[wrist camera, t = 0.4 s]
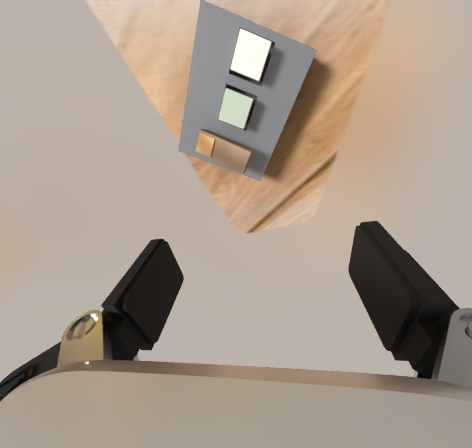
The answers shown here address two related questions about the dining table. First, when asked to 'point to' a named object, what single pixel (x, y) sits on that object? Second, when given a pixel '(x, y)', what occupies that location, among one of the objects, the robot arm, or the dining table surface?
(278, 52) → the console
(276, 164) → the dining table surface
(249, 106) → the sage button
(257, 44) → the white button
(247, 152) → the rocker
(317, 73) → the dining table surface
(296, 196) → the dining table surface
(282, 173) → the dining table surface
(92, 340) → the robot arm
